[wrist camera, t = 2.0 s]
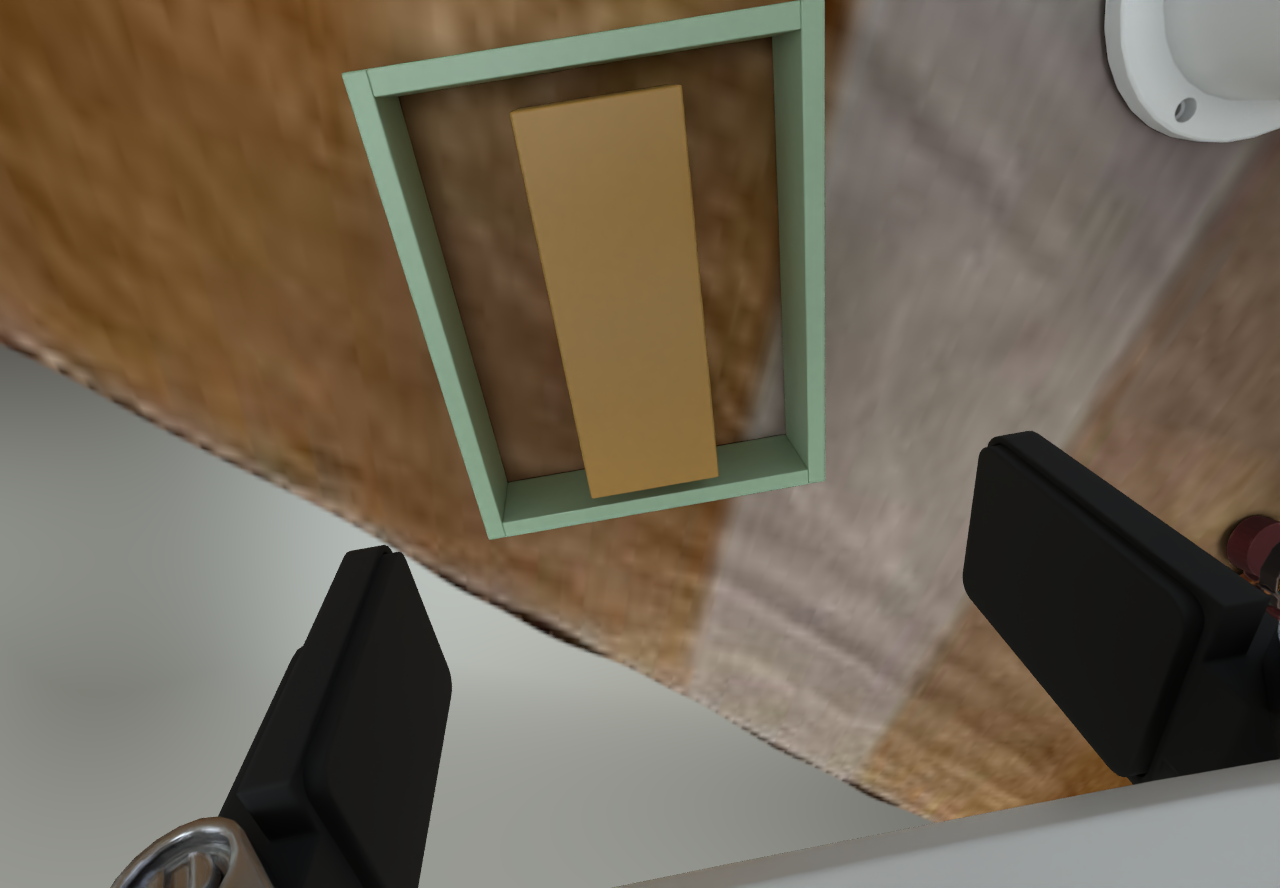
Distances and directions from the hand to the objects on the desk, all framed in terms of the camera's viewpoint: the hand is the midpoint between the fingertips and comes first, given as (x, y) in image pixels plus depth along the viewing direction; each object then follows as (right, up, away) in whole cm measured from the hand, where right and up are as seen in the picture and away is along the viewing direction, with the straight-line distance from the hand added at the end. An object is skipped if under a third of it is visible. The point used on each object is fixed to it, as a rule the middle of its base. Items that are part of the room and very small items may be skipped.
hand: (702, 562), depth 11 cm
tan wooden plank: (-2, +9, +18) cm, 20 cm away
